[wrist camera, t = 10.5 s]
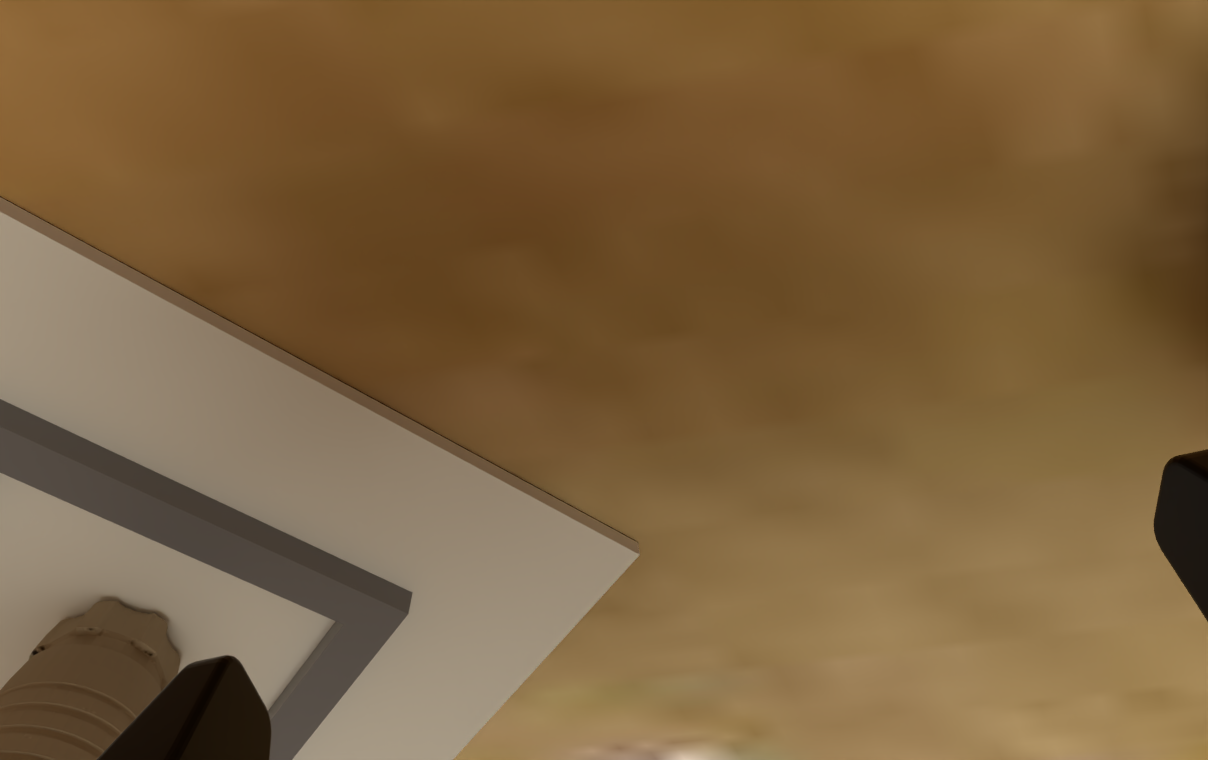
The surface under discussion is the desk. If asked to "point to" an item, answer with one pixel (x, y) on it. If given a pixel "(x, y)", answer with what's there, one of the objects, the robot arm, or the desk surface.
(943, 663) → the desk surface
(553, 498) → the socket plate
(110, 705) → the handle
